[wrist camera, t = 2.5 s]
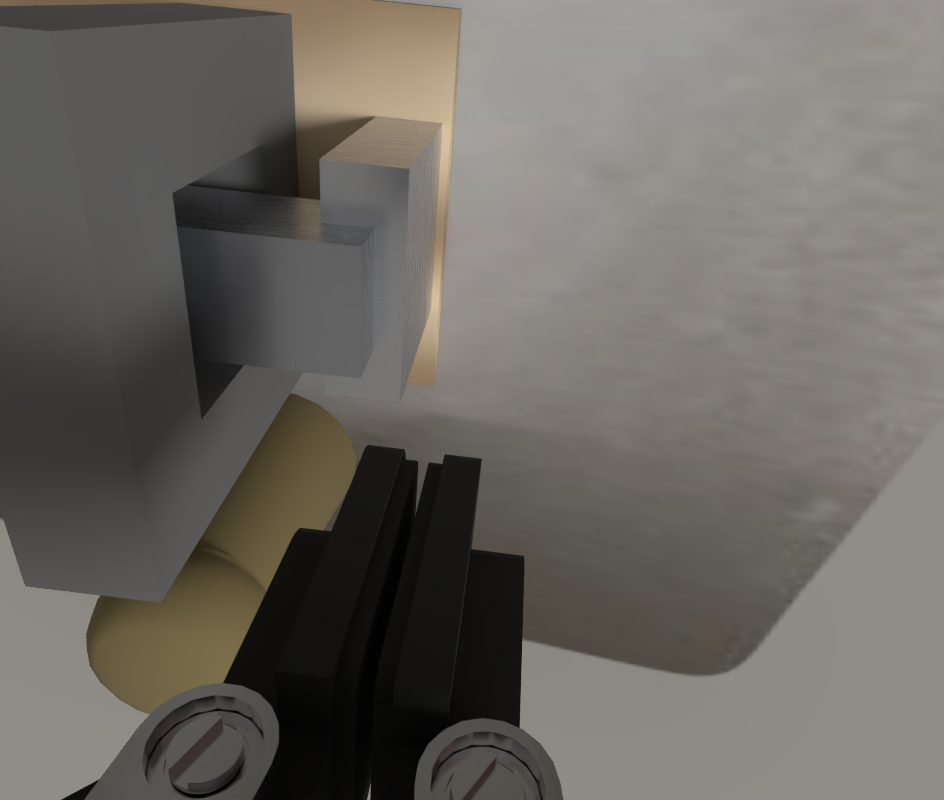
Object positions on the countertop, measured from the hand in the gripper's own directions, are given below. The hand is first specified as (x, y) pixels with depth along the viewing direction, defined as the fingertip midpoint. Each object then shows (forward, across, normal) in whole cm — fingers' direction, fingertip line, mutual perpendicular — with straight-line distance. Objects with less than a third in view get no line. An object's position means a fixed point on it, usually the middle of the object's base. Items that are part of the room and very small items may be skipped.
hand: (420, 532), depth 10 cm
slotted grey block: (+13, +7, -1) cm, 15 cm away
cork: (+15, +7, +10) cm, 20 cm away
